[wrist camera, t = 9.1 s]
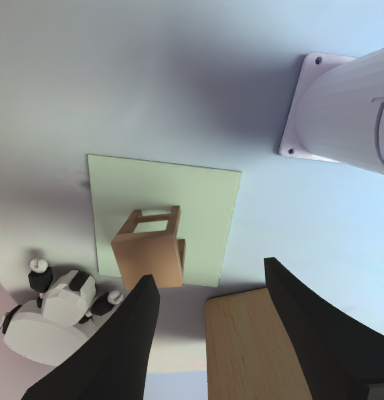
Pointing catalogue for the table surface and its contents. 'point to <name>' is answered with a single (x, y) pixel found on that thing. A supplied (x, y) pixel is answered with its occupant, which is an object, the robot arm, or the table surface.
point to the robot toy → (55, 315)
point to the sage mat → (165, 209)
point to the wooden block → (250, 350)
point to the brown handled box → (150, 251)
